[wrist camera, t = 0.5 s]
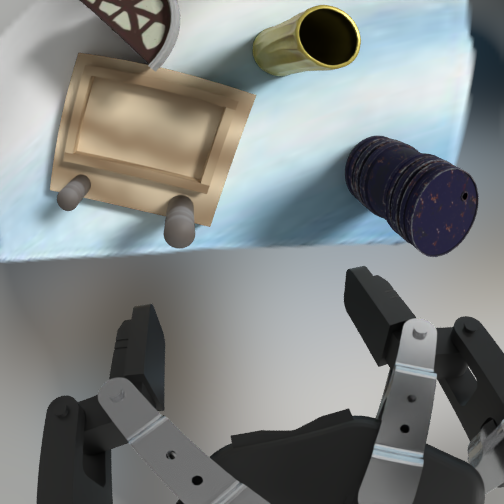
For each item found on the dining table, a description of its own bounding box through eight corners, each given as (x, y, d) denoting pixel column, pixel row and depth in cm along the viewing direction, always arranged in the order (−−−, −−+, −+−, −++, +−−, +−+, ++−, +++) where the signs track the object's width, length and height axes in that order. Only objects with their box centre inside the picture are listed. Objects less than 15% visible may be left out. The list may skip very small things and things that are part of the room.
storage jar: (368, 217, 44) (430, 274, 31) (329, 169, 39) (394, 216, 27) (415, 172, 42) (487, 214, 29) (382, 119, 37) (462, 146, 24)
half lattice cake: (205, 38, 29) (211, 21, 21) (163, 74, 30) (152, 70, 22) (134, -28, 23) (118, -60, 15) (93, 9, 25) (62, -12, 16)
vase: (299, 81, 33) (358, 84, 21) (247, 70, 32) (282, 62, 20) (309, 34, 31) (372, 15, 18) (257, 21, 29) (297, -11, 17)
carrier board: (84, 53, 27) (53, 47, 19) (252, 94, 33) (272, 98, 26) (55, 184, 34) (25, 213, 26) (209, 220, 40) (215, 256, 32)
